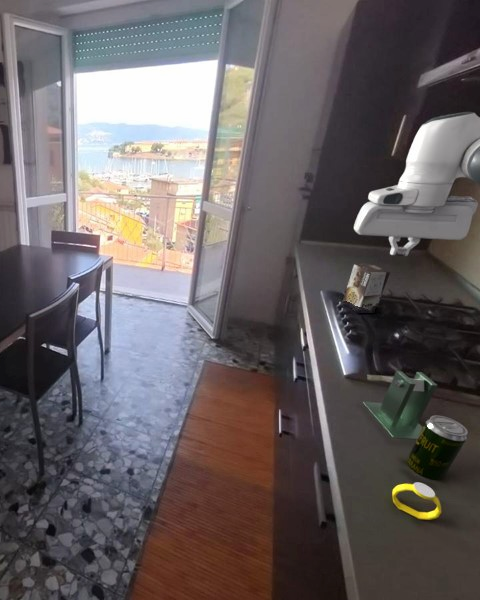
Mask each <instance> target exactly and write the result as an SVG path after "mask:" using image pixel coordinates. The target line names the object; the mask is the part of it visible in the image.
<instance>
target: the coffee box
mask: <svg viewBox="0 0 480 600" xmlns="http://www.w3.org/2000/svg"><path fill="white" fill-rule="evenodd" d="M390 274H391V271H389V270H388V269H385V268H383V267H381V266H378V265H376V264H374V263H369V262H368V263H354V264H353V266H352V270H351V274H350V277H349V280H348V283H347V286H346V290H345V292H344V296H343V300H342V302H343V301H347V302H350V303H352V304H354V305H355V306H358V307H366V306H377V307H378V306H379V303H380V301H381V298H382V295H383V292H384V291H385V287H386V285H387V282H388V279H389V276H390Z"/></svg>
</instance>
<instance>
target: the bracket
mask: <svg viewBox="0 0 480 600" xmlns="http://www.w3.org/2000/svg"><path fill="white" fill-rule="evenodd" d="M393 376H394V377H393V380H392V382H391V383H390V385H389V387H388V389H387V391H386V393H385V396H384V398H383V400H382V402H373V401H362V403H363V405H364V406H365V407H366V408H367V409H368V410H369V412H370V413H371V414H372V415H373V416H374V418H375V419H376V420H377V421H378V422H379V424H380V425H381V426H382V427H383V428H384V429H385V430H386V432H387V433H388V434H389V435H390V436H391V437H392V439H402V440H403V439H404V440H417V439H418V437H419V435H420V433H421V431H422V429H423V427H424V426H423V425H421V424H420V423H419V422H420V421H421V418H422V417H423V414H425V411H426V409H427V407H428V405H429V403H430V402H431V399H432V397H433V395H434V393H435V391H436V389H437V387H438V384H437V383H435V382H434V381H433V380H432V379H431V378H430V377H429V376H427V375H426V374H425V373H423V372H422V371H416V373H415V375H414V376H413V378H414V379H420V380H424V392H419V391H413V389H414V387H415V385H416V384H415V383H414V382H413V381H412V380H411V379H410V378H411V377H409V376H407V375H406V374H405V373H404V372H403V371H402V370H396V371H395V373H394V375H393Z"/></svg>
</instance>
